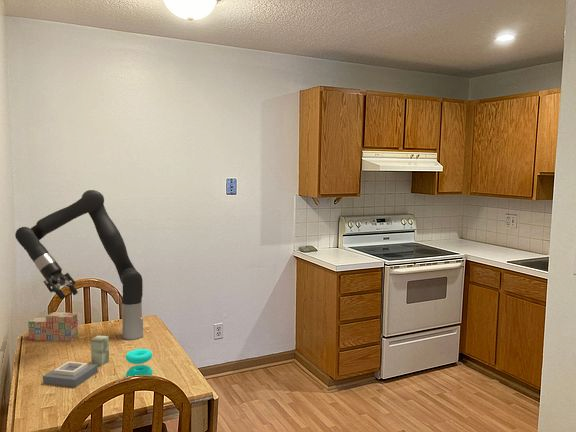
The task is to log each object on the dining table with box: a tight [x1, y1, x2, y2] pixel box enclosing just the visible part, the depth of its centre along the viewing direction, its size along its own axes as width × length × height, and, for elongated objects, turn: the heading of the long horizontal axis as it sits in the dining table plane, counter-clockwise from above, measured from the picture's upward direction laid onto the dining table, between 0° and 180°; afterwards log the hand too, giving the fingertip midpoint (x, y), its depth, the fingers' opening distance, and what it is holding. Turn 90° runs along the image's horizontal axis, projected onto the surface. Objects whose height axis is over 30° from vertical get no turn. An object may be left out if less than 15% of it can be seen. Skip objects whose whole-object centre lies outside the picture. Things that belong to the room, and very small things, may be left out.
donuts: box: [125, 348, 154, 378], centre depth 188 cm, size 10×10×10 cm
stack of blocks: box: [27, 311, 79, 343], centre depth 229 cm, size 21×6×12 cm, turn 85°
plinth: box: [42, 361, 99, 388], centre depth 187 cm, size 14×14×4 cm
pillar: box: [90, 335, 110, 367], centre depth 201 cm, size 5×5×11 cm
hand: (69, 295), depth 205 cm, fingers open, 8 cm apart
